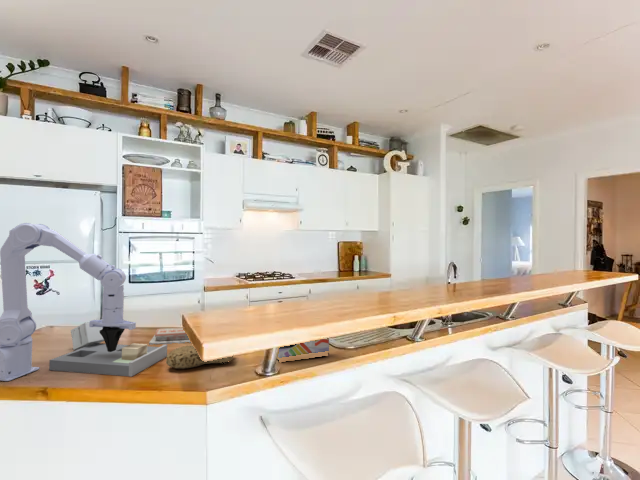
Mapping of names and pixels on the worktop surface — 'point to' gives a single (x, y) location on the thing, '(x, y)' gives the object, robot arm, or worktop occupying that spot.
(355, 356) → the worktop surface
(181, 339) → the packaged product
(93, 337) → the supplement box
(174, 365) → the sponge
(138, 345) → the block
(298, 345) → the cake pan box
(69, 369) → the platform
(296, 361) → the worktop surface
